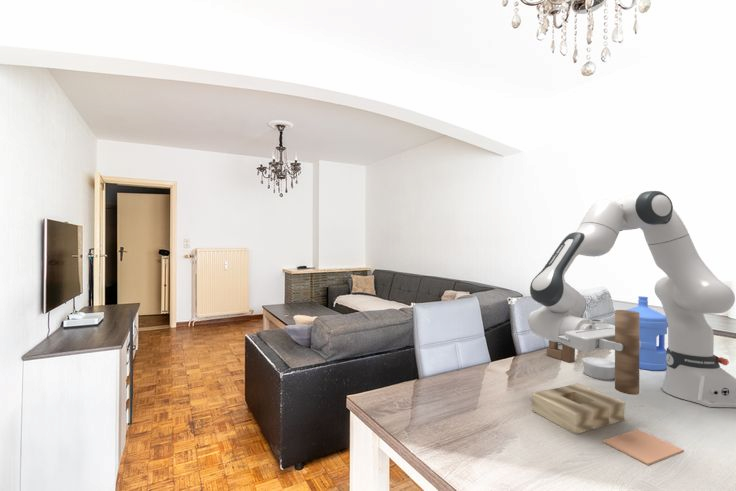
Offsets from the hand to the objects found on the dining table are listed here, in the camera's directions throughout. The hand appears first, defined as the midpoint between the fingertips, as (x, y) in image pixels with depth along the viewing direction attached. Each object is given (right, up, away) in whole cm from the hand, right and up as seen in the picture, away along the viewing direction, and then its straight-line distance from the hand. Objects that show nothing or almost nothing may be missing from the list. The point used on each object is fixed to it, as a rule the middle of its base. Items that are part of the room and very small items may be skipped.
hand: (631, 346), depth 88 cm
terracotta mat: (+1, -24, -2) cm, 24 cm away
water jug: (+48, -24, +57) cm, 78 cm away
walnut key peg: (0, -11, +1) cm, 12 cm away
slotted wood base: (-6, -24, +13) cm, 28 cm away
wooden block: (+17, -24, +64) cm, 70 cm away
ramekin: (+21, -24, +44) cm, 55 cm away
